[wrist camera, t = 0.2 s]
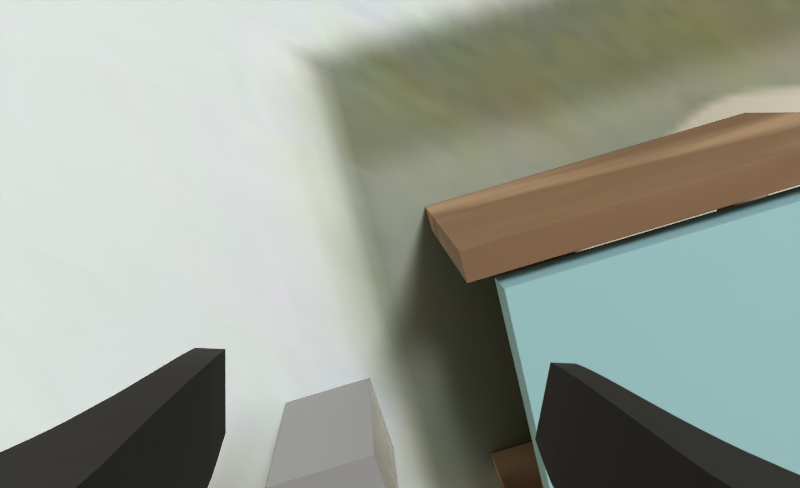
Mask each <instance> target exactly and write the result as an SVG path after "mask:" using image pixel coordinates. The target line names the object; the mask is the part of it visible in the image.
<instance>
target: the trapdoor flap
mask: <svg viewBox="0 0 800 488" xmlns="http://www.w3.org/2000/svg"><path fill="white" fill-rule="evenodd" d="M494 278H495V283H496V287H497V291H498V296H499V300H500V304H501V308H502V313H503V317H504V321H505V326H506V330H507V334H508V339H509V343H510V347H511V352H512V356H513V360H514V365H515V369H516V373H517V377H518V382H519V386H520V390H521V395H522V399H523V403H524V408H525V412H526V416H527V421H528V425H529V429H530V434H531V438H532V442H533V446H534V451H535V455H536V459H537V464H538V468H539V472H540V477H541V481H542V485H543V488H554V487H553V485H552V483H551V481H550V479H549V476H548V474H547V471H546V468H545V466H544V463H543V460H542V457H541V455H540V452H539V449H538V446H537V443H536V440H535V437H536V432H537V427H538V422H539V417H540V412H541V407H542V402H543V397H544V392H545V387H546V382H547V377H548V372H549V367H550V362H552V363H576V364H578V365H581V366H583V367H586V368H588V369H590V370H592V371H594V372H596V373H598V374H600V375H602V376H604V377H605V378H607V379H609V380H611V381H613V382H615V383H616V384H618V385H620V386H622V387H624V388H625V389H627V390H629V391H631V392H633V393H634V394H636V395H638V396H640V397H642V398H643V399H645V400H647V401H649V402H651V403H652V404H654V405H656V406H658V407H660V408H661V409H663V410H665V411H667V412H669V413H671V414H673V415H674V416H676V417H678V418H680V419H682V420H684V421H686V422H688V423H689V424H691V425H693V426H695V427H697V428H699V429H701V430H703V431H705V432H707V433H709V434H711V435H713V436H715V437H717V438H719V439H721V440H723V441H725V442H727V443H729V444H731V445H733V446H736V447H738V448H740V449H742V450H744V451H746V452H748V453H751V454H753V455H755V456H757V457H760V458H762V459H764V460H767V461H769V462H771V463H773V464H776V465H778V466H780V467H782V468H785V469H787V470H789V471H792V472H794V473H796V474H799V475H800V187H797V188H793V189H790V190H787V191H783V192H780V193H776V194H773V195H770V196H766V197H763V198H759V199H756V200H753V201H749V202H746V203H743V204H739V205H736V206H732V207H729V208H726V209H722V210H719V211H716V212H713V213H709V214H706V215H702V216H699V217H695V218H692V219H689V220H685V221H682V222H679V223H675V224H672V225H668V226H666V227H662V228H658V229H655V230H652V231H649V232H645V233H641V234H638V235H635V236H631V237H628V238H625V239H621V240H618V241H615V242H611V243H608V244H604V245H601V246H598V247H594V248H591V249H588V250H584V251H581V252H577V253H574V254H571V255H567V256H564V257H561V258H557V259H554V260H550V261H547V262H544V263H540V264H537V265H534V266H530V267H527V268H523V269H520V270H517V271H513V272H510V273H507V274H503V275H500V276H497V277H494Z"/></svg>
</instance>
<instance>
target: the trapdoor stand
mask: <svg viewBox="0 0 800 488" xmlns="http://www.w3.org/2000/svg"><path fill="white" fill-rule="evenodd" d="M797 185H800V112H799V113H743V114H740V115H736V116H733V117H730V118H726V119H722V120H719V121H716V122H712V123H709V124H706V125H702V126H699V127H695V128H692V129H688V130H685V131H682V132H678V133H675V134H671V135H668V136H665V137H661V138H658V139H654V140H651V141H648V142H644V143H641V144H637V145H634V146H631V147H627V148H624V149H620V150H617V151H614V152H610V153H607V154H603V155H600V156H597V157H593V158H590V159H586V160H583V161H580V162H576V163H573V164H569V165H566V166H563V167H559V168H556V169H552V170H549V171H546V172H542V173H539V174H535V175H532V176H529V177H525V178H522V179H518V180H515V181H511V182H508V183H505V184H501V185H498V186H494V187H491V188H488V189H484V190H481V191H477V192H474V193H471V194H467V195H464V196H460V197H457V198H454V199H450V200H447V201H443V202H440V203H437V204H433V205H430V206H426V207H425V208H426V212H427V215H428V219H429V223H430V227H431V230H432V231H433V233H434V234H435V236H436V237H437V239H438V240H439V242H440V243H441V245H442V246H443V248H444V249H445V251H446V252H447V254H448V255H449V257H450V258H451V260H452V261H453V263H454V264H455V266H456V267H457V269H458V270H459V272H460V273H461V275H462V276H463V278H464V279H465V281H466V282H467V283H470V282H473V281H476V280H480V279H483V278H487V277H490V276H493V275H497V274H500V273H503V272H507V271H510V270H513V269H517V268H520V267H524V266H527V265H530V264H534V263H537V262H540V261H544V260H547V259H551V258H554V257H557V256H561V255H564V254H567V253H571V252H574V251H578V250H581V249H584V248H588V247H591V246H594V245H598V244H601V243H605V242H608V241H611V240H615V239H618V238H621V237H625V236H628V235H631V234H635V233H638V232H642V231H645V230H648V229H652V228H655V227H658V226H662V225H665V224H669V223H672V222H675V221H679V220H682V219H685V218H689V217H692V216H696V215H699V214H702V213H706V212H709V211H712V210H716V209H717V211H719V210H722V209H726V208H729V207H732V206H736V205H739V204H743V203H746V202H749V201H753V200H756V199H759V198H763V197H766V196H768V194H770V193H773V192H776V191H780V190H783V189H787V188H789V187H793V186H797ZM491 455H492V459H493V463H494V466H495V470H496V472H497V475H498V478H499V480H500V483H501V485H502V488H543V485H542V481H541V477H540V472H539V468H538V464H537V459H536V455H535V451H534V446H533V442H532V441H531V442H528V443H525V444H521V445H518V446H515V447H511V448H508V449H505V450H501V451H498V452H495V453H491Z"/></svg>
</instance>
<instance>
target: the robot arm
mask: <svg viewBox="0 0 800 488" xmlns="http://www.w3.org/2000/svg"><path fill="white" fill-rule="evenodd" d="M224 436H225V349H207V348H194V349H192V350H190V351H188V352H186V353H185V354H183V355H181V356H179V357H178V358H176V359H174V360H173V361H171V362H169V363H168V364H166V365H164V366H163V367H161V368H159V369H158V370H156V371H154V372H153V373H151V374H149V375H148V376H146V377H144V378H143V379H141V380H139V381H138V382H136V383H134V384H133V385H131V386H129V387H127V388H126V389H124V390H122V391H121V392H119V393H117V394H116V395H114V396H112V397H110V398H108V399H106V400H104V401H103V402H101V403H99V404H97V405H95V406H93V407H92V408H90V409H88V410H86V411H84V412H82V413H81V414H79V415H77V416H75V417H73V418H71V419H69V420H68V421H66V422H64V423H62V424H60V425H58V426H56V427H54V428H52V429H50V430H48V431H46V432H44V433H42V434H40V435H37V436H35V437H33V438H31V439H29V440H27V441H25V442H22V443H20V444H18V445H16V446H14V447H11V448H9V449H7V450H5V451H2V452H0V488H207V487H208V485H209V482H210V480H211V478H212V474H213V471H214V468H215V465H216V462H217V459H218V456H219V452H220V449H221V446H222V442H223V439H224ZM535 440H536V443H537V446H538V449H539V452H540V455H541V457H542V460H543V463H544V466H545V468H546V471H547V474H548V476H549V479H550V481H551V483H552V485H553V487H554V488H800V475H799V474H796V473H794V472H792V471H789V470H787V469H785V468H782V467H780V466H778V465H776V464H773V463H771V462H769V461H767V460H764V459H762V458H760V457H757V456H755V455H753V454H751V453H748V452H746V451H744V450H742V449H740V448H738V447H736V446H733V445H731V444H729V443H727V442H725V441H723V440H721V439H719V438H717V437H715V436H713V435H711V434H709V433H707V432H705V431H703V430H701V429H699V428H697V427H695V426H693V425H691V424H689V423H688V422H686V421H684V420H682V419H680V418H678V417H676V416H674V415H673V414H671V413H669V412H667V411H665V410H663V409H661V408H660V407H658V406H656V405H654V404H652V403H651V402H649V401H647V400H645V399H643V398H642V397H640V396H638V395H636V394H634V393H633V392H631V391H629V390H627V389H625V388H624V387H622V386H620V385H618V384H616V383H615V382H613V381H611V380H609V379H607V378H605V377H604V376H602V375H600V374H598V373H596V372H594V371H592V370H590V369H588V368H586V367H583V366H581V365H578V364H576V363H552V362H550V367H549V372H548V377H547V382H546V387H545V392H544V397H543V402H542V407H541V412H540V417H539V422H538V427H537V432H536V437H535Z"/></svg>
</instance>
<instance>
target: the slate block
mask: <svg viewBox="0 0 800 488" xmlns="http://www.w3.org/2000/svg"><path fill="white" fill-rule="evenodd" d="M265 488H398V484H397V475H396V466H395V458H394V449H393V445H392V442H391V439H390V436H389V433H388V430H387V427H386V424H385V421H384V419H383V416H382V413H381V410H380V407H379V404H378V401H377V398H376V395H375V392H374V389H373V386H372V383H371V381H370V378H368V379H365V380H361V381H358V382H355V383H351V384H348V385H344V386H341V387H338V388H334V389H331V390H328V391H324V392H321V393H318V394H314V395H311V396H308V397H304V398H301V399H298V400H294V401H291V402H288V403H286V405H285V409H284V413H283V417H282V421H281V425H280V429H279V433H278V438H277V442H276V446H275V450H274V454H273V458H272V462H271V467H270V471H269V475H268V479H267V483H266V487H265Z"/></svg>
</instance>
